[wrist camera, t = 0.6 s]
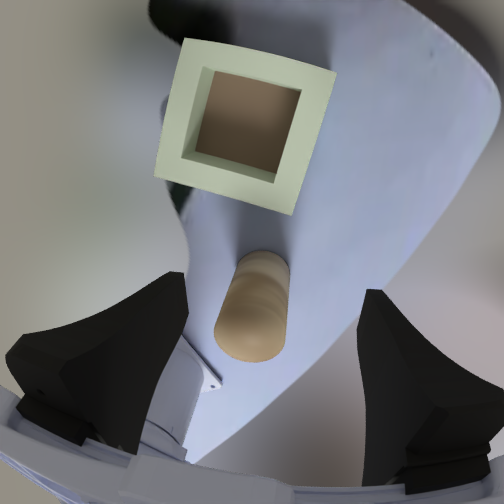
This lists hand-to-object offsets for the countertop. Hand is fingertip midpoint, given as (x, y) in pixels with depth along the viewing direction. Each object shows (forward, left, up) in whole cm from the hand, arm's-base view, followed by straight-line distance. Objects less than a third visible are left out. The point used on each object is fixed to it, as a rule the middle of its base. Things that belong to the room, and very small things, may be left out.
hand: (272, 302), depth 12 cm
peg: (-4, -3, -10) cm, 11 cm away
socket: (+1, +7, -10) cm, 12 cm away
